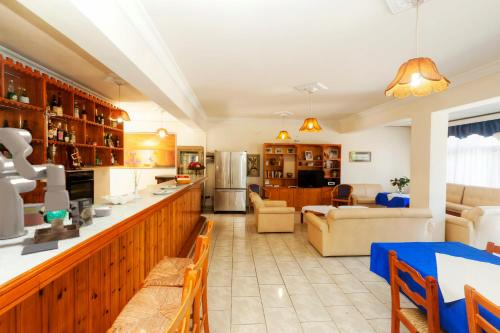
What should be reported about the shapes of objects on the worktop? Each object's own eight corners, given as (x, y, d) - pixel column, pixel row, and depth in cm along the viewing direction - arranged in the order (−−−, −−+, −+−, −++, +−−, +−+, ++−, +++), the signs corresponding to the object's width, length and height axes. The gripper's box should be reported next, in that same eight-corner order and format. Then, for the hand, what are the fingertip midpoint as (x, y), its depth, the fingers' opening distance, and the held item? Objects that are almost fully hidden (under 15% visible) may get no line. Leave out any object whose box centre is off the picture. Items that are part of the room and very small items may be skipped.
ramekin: (115, 215, 177) (114, 207, 177) (97, 218, 169) (97, 210, 169) (109, 212, 185) (109, 205, 184) (92, 215, 176) (92, 208, 176)
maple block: (51, 233, 126) (51, 221, 126) (51, 230, 130) (51, 219, 130) (63, 231, 130) (63, 220, 129) (63, 229, 133) (63, 218, 133)
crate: (34, 244, 119) (33, 236, 119) (36, 236, 130) (35, 229, 130) (79, 236, 130) (79, 229, 130) (77, 230, 141) (77, 223, 141)
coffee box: (80, 228, 146) (79, 200, 145) (71, 227, 147) (70, 200, 146) (93, 223, 155) (92, 198, 154) (84, 223, 156) (83, 197, 155)
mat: (22, 255, 106) (22, 253, 106) (25, 246, 116) (25, 245, 116) (58, 248, 114) (58, 247, 114) (57, 241, 123) (57, 240, 123)
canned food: (26, 223, 156) (25, 204, 156) (48, 220, 162) (48, 202, 161) (19, 227, 146) (19, 207, 146) (44, 225, 152) (43, 205, 151)
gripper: (33, 191, 121) (36, 225, 121) (77, 187, 131) (78, 219, 132) (35, 189, 127) (37, 222, 127) (76, 186, 137) (77, 217, 138)
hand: (58, 221), depth 130 cm, fingers open, 9 cm apart
